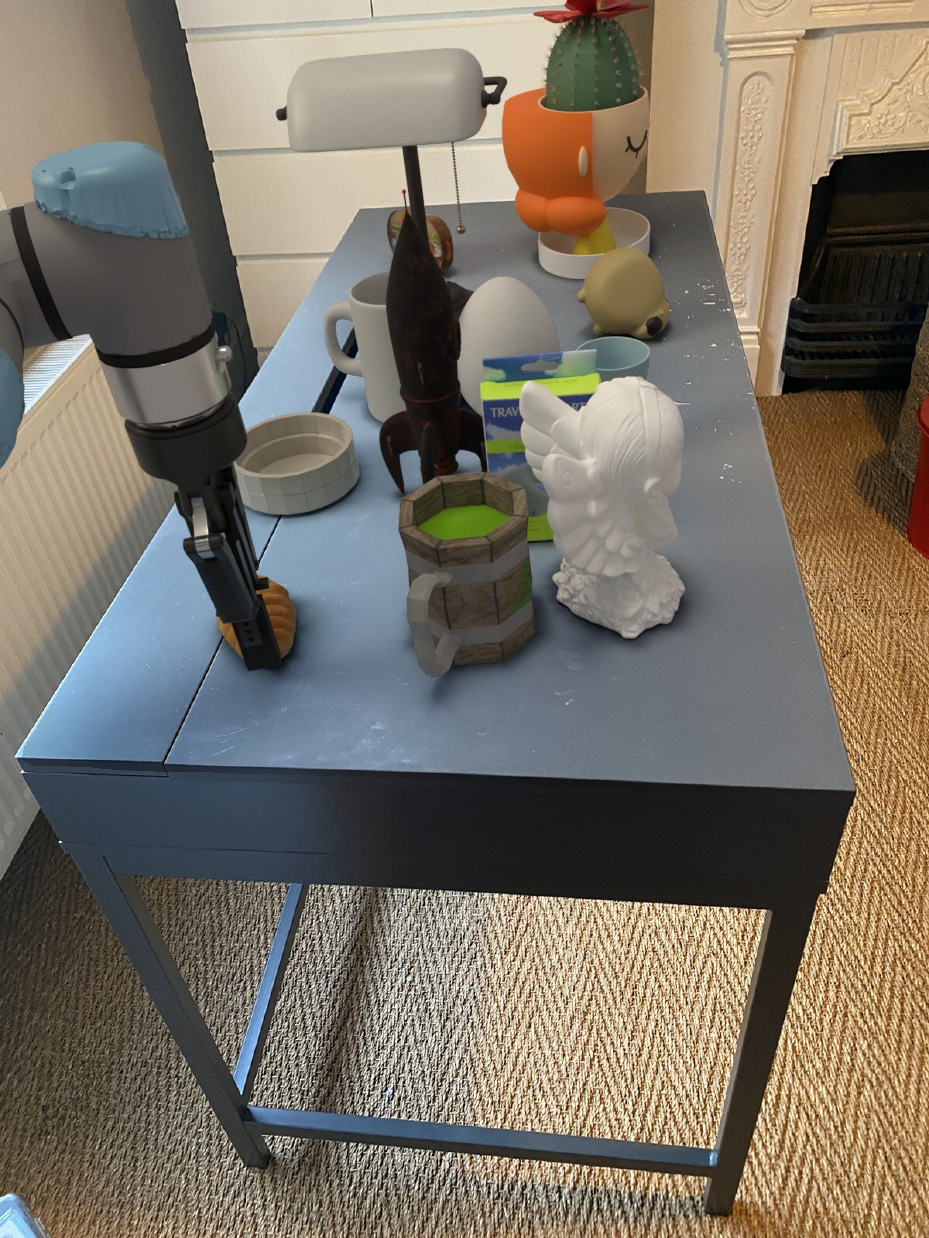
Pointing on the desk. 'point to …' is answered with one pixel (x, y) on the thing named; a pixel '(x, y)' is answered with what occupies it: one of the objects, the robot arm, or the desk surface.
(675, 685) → the desk surface
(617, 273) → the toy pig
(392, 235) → the tin
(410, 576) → the mug
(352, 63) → the lamp
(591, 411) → the cherub figurine
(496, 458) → the box
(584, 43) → the potted cactus
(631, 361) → the cup
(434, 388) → the toy rocket
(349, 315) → the mug
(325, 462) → the bowl
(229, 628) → the pastry
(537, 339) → the decorative egg
